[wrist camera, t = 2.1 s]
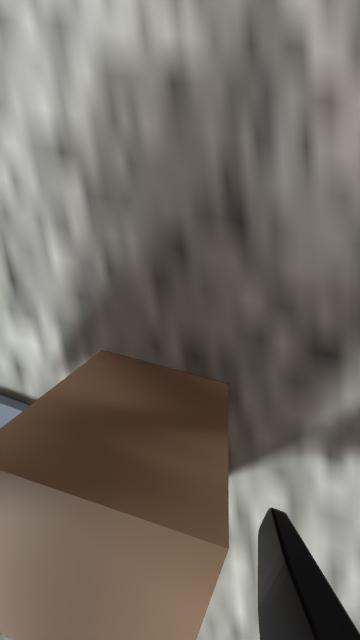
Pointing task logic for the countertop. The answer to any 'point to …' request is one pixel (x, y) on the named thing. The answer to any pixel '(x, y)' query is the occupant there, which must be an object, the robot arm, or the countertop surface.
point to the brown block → (114, 505)
